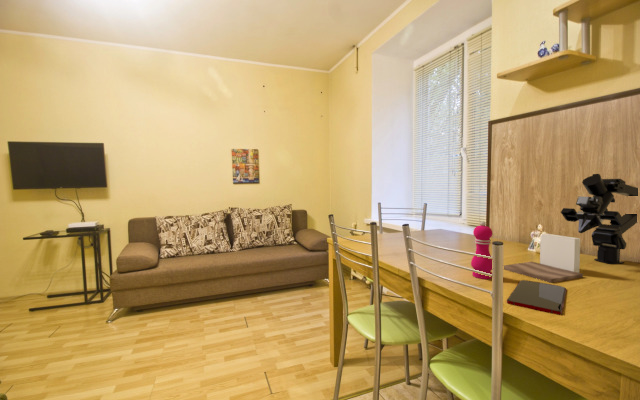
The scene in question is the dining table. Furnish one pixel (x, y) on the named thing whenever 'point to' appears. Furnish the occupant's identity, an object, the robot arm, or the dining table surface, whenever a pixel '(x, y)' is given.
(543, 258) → the white flat box
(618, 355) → the dining table surface
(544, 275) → the brown flat board
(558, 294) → the smartphone
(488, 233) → the pepper mill
